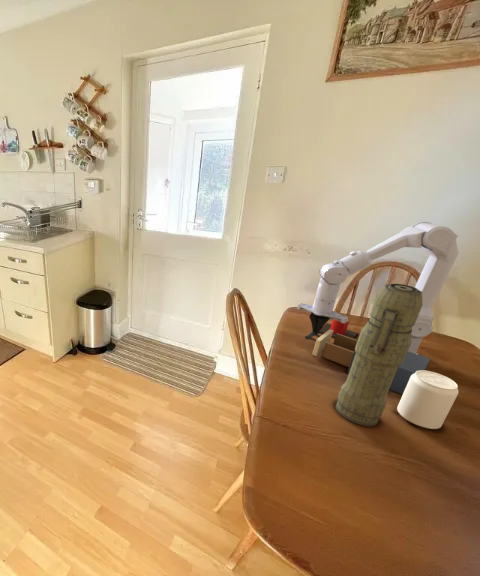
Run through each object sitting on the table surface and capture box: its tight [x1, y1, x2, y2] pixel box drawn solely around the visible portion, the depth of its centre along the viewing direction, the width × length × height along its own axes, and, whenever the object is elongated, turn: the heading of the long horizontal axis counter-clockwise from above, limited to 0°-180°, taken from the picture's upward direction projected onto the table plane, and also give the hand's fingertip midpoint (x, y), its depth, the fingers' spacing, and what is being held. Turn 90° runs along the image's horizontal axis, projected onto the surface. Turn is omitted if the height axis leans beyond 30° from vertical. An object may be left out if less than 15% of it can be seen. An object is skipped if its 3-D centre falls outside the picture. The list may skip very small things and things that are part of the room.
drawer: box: [304, 329, 358, 368], centre depth 103 cm, size 18×11×6 cm, turn 37°
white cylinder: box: [396, 370, 459, 430], centre depth 77 cm, size 8×8×12 cm
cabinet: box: [347, 351, 431, 395], centre depth 93 cm, size 15×13×8 cm
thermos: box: [335, 283, 422, 427], centre depth 74 cm, size 9×12×35 cm
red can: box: [330, 319, 350, 335], centre depth 118 cm, size 5×5×6 cm
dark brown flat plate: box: [319, 323, 359, 339], centre depth 119 cm, size 10×10×1 cm
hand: (315, 333), depth 111 cm, fingers closed
